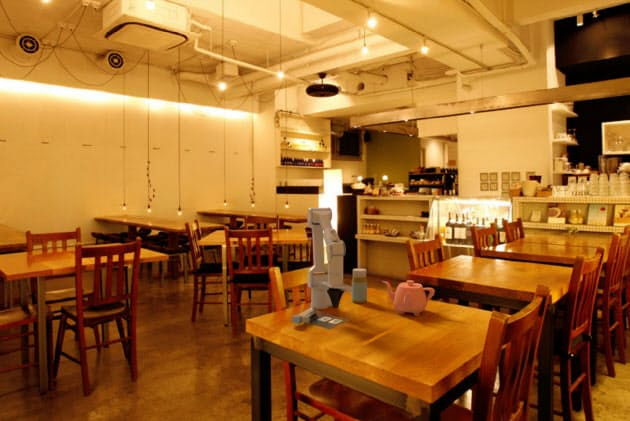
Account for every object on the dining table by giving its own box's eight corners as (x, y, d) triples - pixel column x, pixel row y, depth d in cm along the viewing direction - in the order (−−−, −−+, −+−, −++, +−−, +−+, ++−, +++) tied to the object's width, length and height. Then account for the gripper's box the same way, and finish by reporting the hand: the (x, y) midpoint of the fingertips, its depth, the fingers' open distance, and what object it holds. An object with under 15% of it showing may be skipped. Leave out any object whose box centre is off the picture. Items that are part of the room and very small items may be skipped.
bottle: (349, 302, 199) (349, 270, 198) (355, 299, 205) (355, 267, 204) (363, 304, 196) (363, 271, 195) (369, 301, 202) (369, 269, 201)
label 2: (335, 319, 171) (335, 318, 171) (342, 321, 169) (342, 320, 169) (328, 322, 167) (328, 321, 167) (335, 324, 165) (335, 323, 165)
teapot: (407, 320, 173) (407, 286, 172) (381, 309, 188) (381, 278, 187) (437, 314, 181) (437, 282, 180) (410, 305, 196) (410, 275, 195)
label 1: (325, 317, 174) (325, 316, 174) (332, 318, 172) (332, 318, 172) (317, 320, 170) (317, 319, 170) (324, 322, 168) (324, 321, 168)
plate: (317, 314, 181) (317, 311, 181) (350, 321, 171) (350, 318, 171) (296, 322, 170) (296, 319, 170) (329, 331, 160) (329, 328, 160)
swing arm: (311, 313, 177) (311, 305, 176) (318, 314, 175) (318, 306, 175) (291, 325, 162) (291, 316, 162) (299, 326, 161) (299, 317, 161)
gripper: (314, 272, 168) (314, 306, 169) (345, 276, 159) (345, 313, 160) (325, 269, 174) (325, 302, 174) (355, 273, 165) (355, 309, 166)
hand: (335, 307), depth 168 cm, fingers closed
